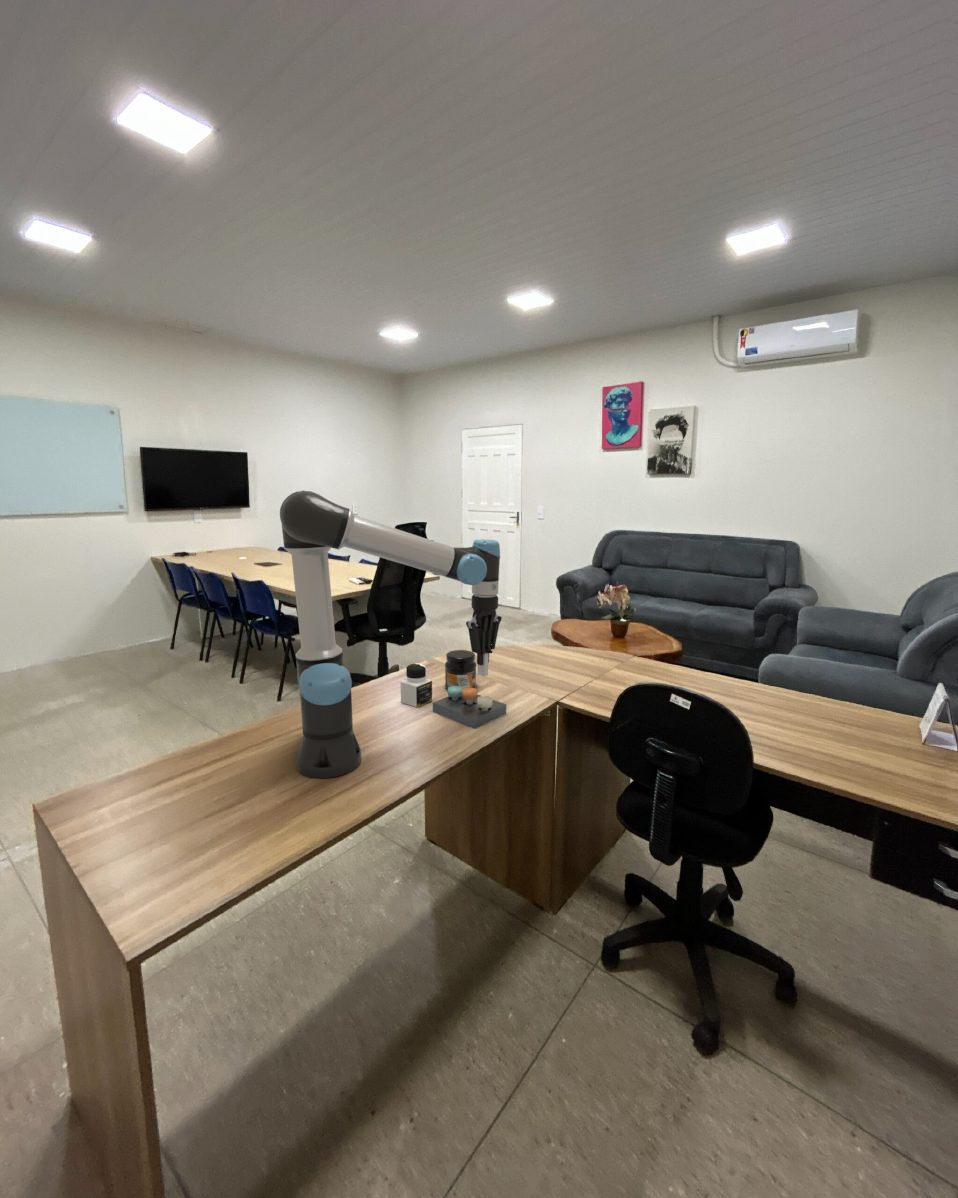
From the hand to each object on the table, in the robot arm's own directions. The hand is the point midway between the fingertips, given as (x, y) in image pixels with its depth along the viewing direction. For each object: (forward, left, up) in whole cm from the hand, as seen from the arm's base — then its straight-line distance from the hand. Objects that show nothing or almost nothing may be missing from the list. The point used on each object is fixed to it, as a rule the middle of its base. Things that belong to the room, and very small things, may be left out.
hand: (482, 674), depth 155 cm
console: (-1, +4, -13) cm, 14 cm away
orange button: (-1, +4, -11) cm, 11 cm away
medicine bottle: (-6, +22, -13) cm, 27 cm away
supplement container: (+12, +20, -13) cm, 27 cm away
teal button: (-1, +10, -12) cm, 16 cm away
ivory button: (-1, -2, -12) cm, 12 cm away
